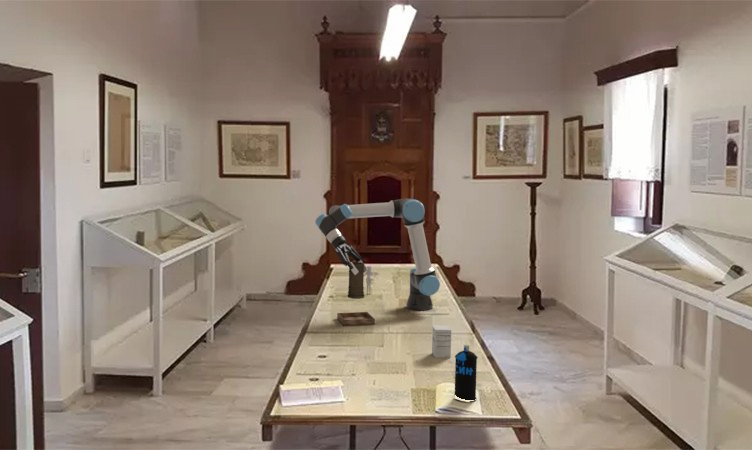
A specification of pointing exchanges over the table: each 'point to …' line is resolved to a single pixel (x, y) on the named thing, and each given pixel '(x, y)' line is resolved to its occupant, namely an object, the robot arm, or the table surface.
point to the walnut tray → (355, 318)
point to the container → (356, 282)
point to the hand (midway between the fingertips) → (361, 272)
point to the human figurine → (369, 278)
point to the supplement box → (441, 342)
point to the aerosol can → (465, 374)
